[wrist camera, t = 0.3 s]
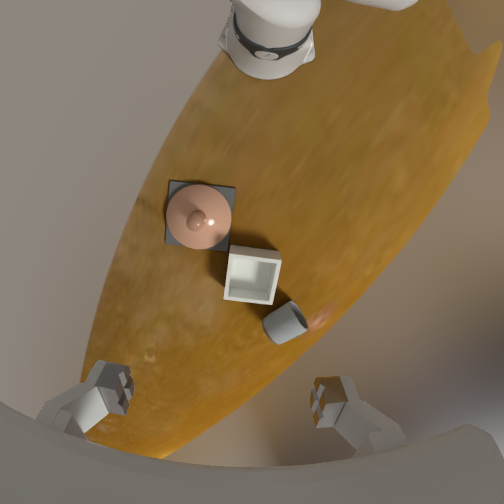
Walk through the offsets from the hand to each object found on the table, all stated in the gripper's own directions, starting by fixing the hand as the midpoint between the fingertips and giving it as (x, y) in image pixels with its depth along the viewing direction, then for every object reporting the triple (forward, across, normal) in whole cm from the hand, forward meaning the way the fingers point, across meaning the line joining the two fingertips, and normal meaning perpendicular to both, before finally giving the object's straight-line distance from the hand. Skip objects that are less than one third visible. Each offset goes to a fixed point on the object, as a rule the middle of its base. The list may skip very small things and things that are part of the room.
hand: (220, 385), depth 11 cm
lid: (+46, +8, +4) cm, 46 cm away
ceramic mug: (+46, -12, +27) cm, 55 cm away
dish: (+46, -3, +15) cm, 48 cm away
